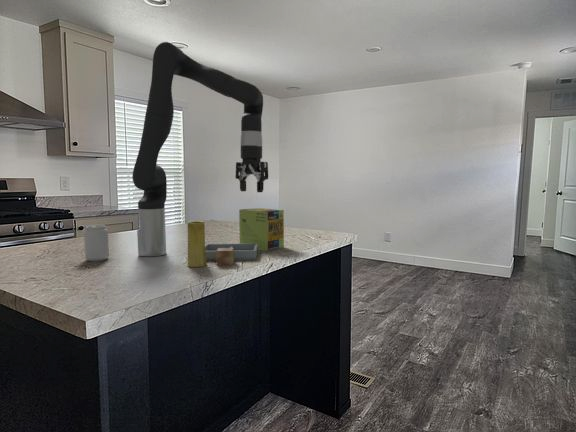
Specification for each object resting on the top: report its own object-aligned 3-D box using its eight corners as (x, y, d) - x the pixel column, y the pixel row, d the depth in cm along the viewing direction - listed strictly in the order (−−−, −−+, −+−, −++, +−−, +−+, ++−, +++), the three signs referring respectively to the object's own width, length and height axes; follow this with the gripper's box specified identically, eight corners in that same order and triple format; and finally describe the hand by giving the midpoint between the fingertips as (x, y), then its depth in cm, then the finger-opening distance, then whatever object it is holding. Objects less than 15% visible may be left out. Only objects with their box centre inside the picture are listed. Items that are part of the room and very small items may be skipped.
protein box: (268, 251, 150) (267, 211, 148) (239, 247, 159) (238, 209, 157) (284, 247, 158) (284, 209, 156) (256, 243, 167) (255, 207, 166)
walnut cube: (216, 266, 126) (216, 250, 126) (219, 262, 131) (218, 248, 131) (232, 265, 126) (231, 250, 126) (233, 262, 131) (233, 247, 131)
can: (99, 262, 132) (97, 227, 131) (80, 261, 134) (78, 226, 133) (113, 257, 140) (112, 224, 138) (95, 257, 141) (93, 224, 140)
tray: (198, 260, 134) (198, 251, 133) (206, 252, 148) (206, 243, 148) (255, 260, 134) (255, 250, 134) (257, 251, 149) (257, 243, 148)
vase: (209, 263, 130) (207, 220, 128) (203, 267, 124) (202, 223, 122) (191, 263, 130) (190, 220, 129) (184, 267, 124) (183, 223, 123)
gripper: (229, 145, 137) (230, 191, 139) (257, 143, 128) (257, 192, 130) (245, 146, 143) (245, 190, 145) (273, 145, 133) (273, 192, 135)
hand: (251, 191), depth 137 cm, fingers open, 8 cm apart
